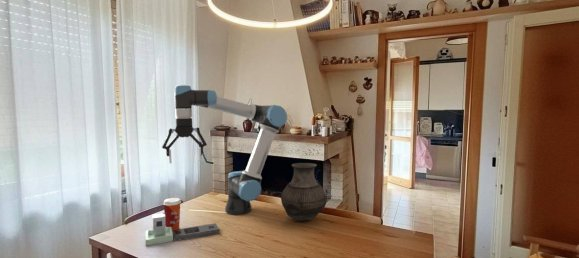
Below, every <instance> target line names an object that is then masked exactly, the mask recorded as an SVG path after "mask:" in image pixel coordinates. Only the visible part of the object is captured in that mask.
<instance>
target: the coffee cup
mask: <svg viewBox="0 0 579 258" xmlns="http://www.w3.org/2000/svg"><path fill="white" fill-rule="evenodd" d="M181 204H182V201H181V198H178V197H170V198H166V199H164V201H163V204H162V205H163V210H164V212H163V213H165V227H171V228H172V233H173V230H176V229H180V223H181V222H180V221H181V215H180V214H181Z"/></svg>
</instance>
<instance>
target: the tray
mask: <svg viewBox="0 0 579 258" xmlns="http://www.w3.org/2000/svg"><path fill="white" fill-rule="evenodd" d="M165 228H166V236H161V237H155V238H153V228H152V229H146V230H145V246H151V245H156V244H163V243H167V242H168V243H169V242H173V241H174V237H173V232H172V228H171V227H166V226H165Z"/></svg>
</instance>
